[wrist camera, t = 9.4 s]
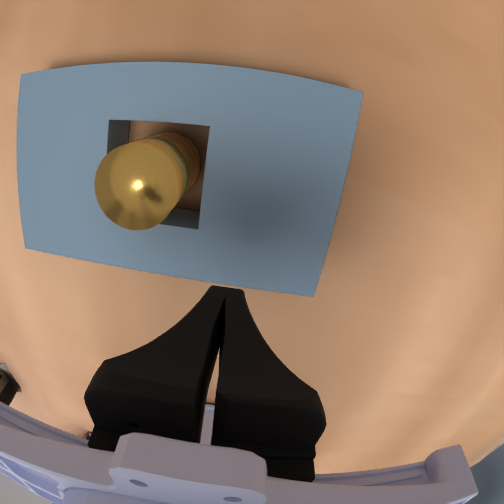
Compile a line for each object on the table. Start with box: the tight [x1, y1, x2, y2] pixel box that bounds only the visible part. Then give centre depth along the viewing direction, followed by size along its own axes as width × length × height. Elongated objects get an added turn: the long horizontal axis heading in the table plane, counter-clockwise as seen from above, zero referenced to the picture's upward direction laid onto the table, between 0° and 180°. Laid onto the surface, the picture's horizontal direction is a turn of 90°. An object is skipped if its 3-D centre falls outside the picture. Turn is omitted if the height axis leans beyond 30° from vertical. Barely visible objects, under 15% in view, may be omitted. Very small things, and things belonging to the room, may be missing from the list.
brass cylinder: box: [94, 132, 200, 230], centre depth 15 cm, size 4×4×6 cm
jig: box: [17, 62, 363, 297], centre depth 17 cm, size 12×20×3 cm, turn 81°
